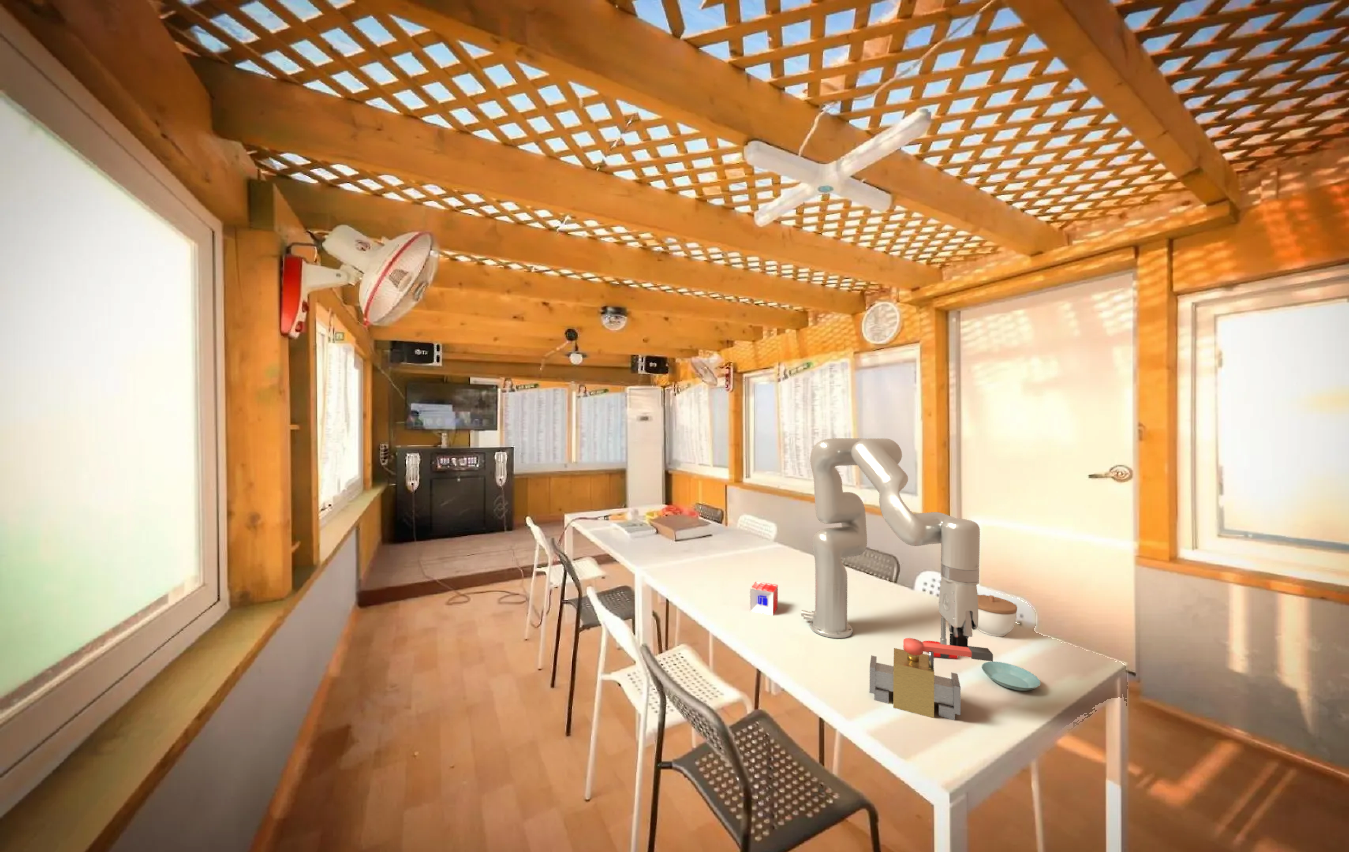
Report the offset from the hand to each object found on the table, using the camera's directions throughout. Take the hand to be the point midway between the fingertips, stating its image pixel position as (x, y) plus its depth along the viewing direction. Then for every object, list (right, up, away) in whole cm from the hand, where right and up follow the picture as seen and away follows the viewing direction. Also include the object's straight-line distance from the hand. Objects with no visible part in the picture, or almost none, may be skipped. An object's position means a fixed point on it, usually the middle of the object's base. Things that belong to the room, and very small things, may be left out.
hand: (958, 652), depth 104 cm
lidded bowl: (+33, -12, +37) cm, 51 cm away
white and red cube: (-35, -12, +53) cm, 64 cm away
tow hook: (+9, -12, +24) cm, 29 cm away
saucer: (+18, -12, +9) cm, 24 cm away
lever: (-4, +1, -2) cm, 5 cm away
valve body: (-11, -11, 0) cm, 16 cm away
